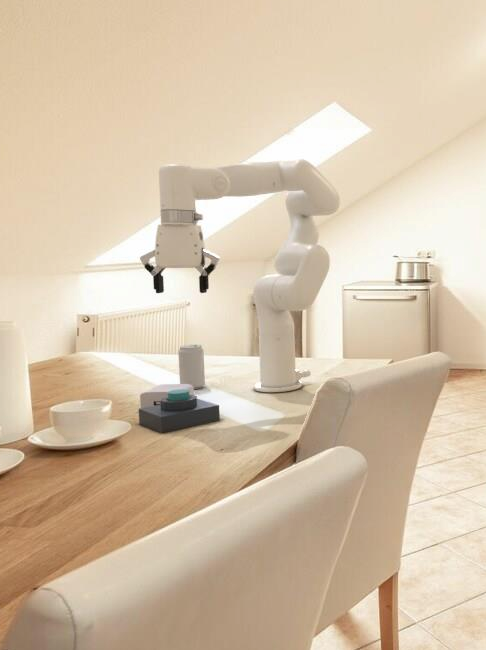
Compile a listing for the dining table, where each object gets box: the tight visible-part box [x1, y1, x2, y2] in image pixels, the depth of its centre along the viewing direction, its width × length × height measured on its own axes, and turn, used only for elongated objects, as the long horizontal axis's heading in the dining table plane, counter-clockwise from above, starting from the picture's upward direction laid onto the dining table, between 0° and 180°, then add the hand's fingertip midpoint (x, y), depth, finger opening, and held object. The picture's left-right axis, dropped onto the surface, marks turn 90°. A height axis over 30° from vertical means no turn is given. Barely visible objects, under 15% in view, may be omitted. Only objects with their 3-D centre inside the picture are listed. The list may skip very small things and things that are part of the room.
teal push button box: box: [138, 394, 221, 434], centre depth 142 cm, size 13×11×6 cm
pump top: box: [168, 389, 190, 401], centre depth 141 cm, size 4×4×2 cm
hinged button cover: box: [139, 383, 195, 408], centre depth 158 cm, size 5×9×15 cm
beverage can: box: [177, 344, 206, 390], centre depth 176 cm, size 6×6×12 cm
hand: (181, 292), depth 147 cm, fingers open, 9 cm apart
